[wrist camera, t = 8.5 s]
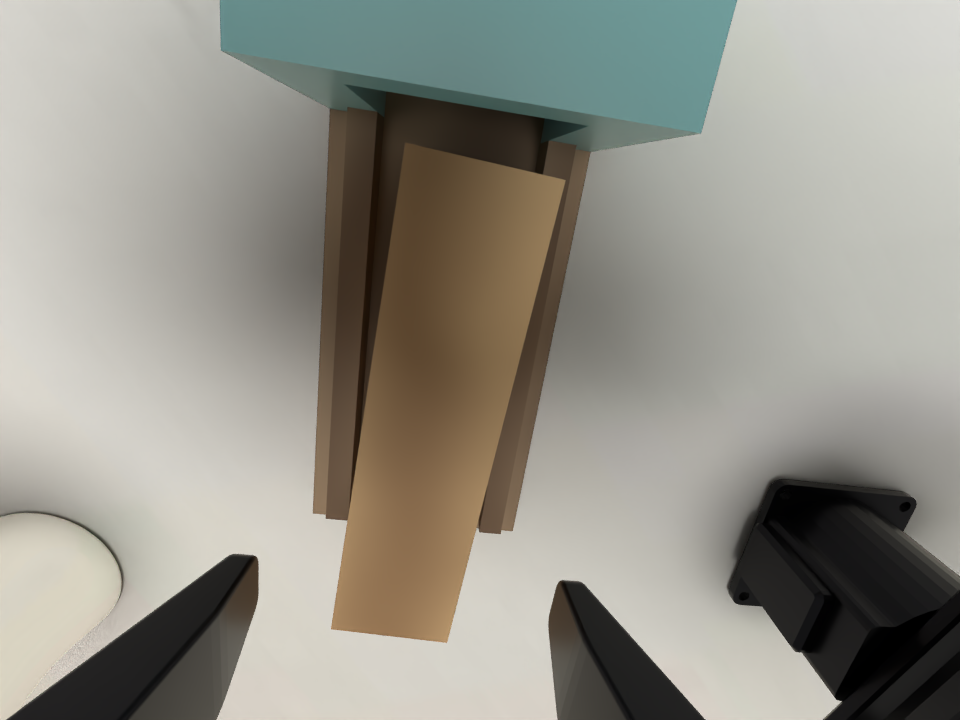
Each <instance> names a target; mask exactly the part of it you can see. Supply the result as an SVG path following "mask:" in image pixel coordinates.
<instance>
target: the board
mask: <svg viewBox="0 0 960 720" xmlns="http://www.w3.org/2000/svg"><path fill="white" fill-rule="evenodd" d="M544 120H545V118H540V117H534V116H528V115H522V114H516V113H511V112H505V111H499V110H493V109H487V108H481V107H475V106H470V105H464V104H458V103H452V102H446V101H440V100H434V99H429V98H423V97H417V96H411V95H405V94H399V93H394V92H388V91H386V102H385V115H384V117H383V116H382V115H381V114H379V113H378V112H375V111H369V110H363V109H357V108H351V107H347V111H341V110H335V109H330V123H329V146H328V170H327V193H326V217H325V241H324V264H323V288H322V311H321V335H320V358H319V382H318V406H317V429H316V453H315V476H314V500H313V513H315V514H326V519H336V520H348V515H349V508H350V502H351V495H352V489H353V482H354V476H355V469H356V463H357V456H358V449H359V443H360V436H361V430H362V423H363V417H364V410H365V404H366V397H367V390H368V384H369V377H370V371H371V364H372V358H373V351H374V345H375V338H376V332H377V325H378V318H379V312H380V305H381V299H382V292H383V286H384V279H385V273H386V266H387V260H388V253H389V246H390V240H391V233H392V227H393V220H394V214H395V207H396V201H397V194H398V188H399V181H400V174H401V168H402V161H403V155H404V148H405V143H409V144H413V145H418V146H422V147H426V148H431V149H435V150H439V151H443V152H448V153H452V154H456V155H460V156H465V157H469V158H473V159H478V160H482V161H486V162H490V163H495V164H499V165H503V166H508V167H512V168H516V169H520V170H525V171H529V172H533V173H537V174H542V175H546V176H550V177H555V178H559V179H563V180H566V181H565V185H564V189H563V193H562V196H561V200H560V204H559V208H558V212H557V216H556V220H555V224H554V228H553V231H552V235H551V239H550V243H549V247H548V251H547V255H546V259H545V263H544V267H543V270H542V274H541V278H540V282H539V286H538V290H537V294H536V298H535V302H534V306H533V309H532V313H531V317H530V321H529V325H528V329H527V333H526V337H525V341H524V344H523V348H522V352H521V356H520V360H519V364H518V368H517V372H516V376H515V380H514V383H513V387H512V391H511V395H510V399H509V403H508V407H507V411H506V415H505V418H504V422H503V426H502V430H501V434H500V438H499V442H498V446H497V450H496V454H495V457H494V461H493V465H492V469H491V473H490V477H489V481H488V485H487V489H486V492H485V496H484V500H483V504H482V508H481V512H480V516H479V520H478V524H477V528H479V532H483V533H494V534H501V530H505V531H513V527H514V522H515V517H516V512H517V507H518V502H519V498H520V493H521V488H522V483H523V478H524V473H525V468H526V463H527V459H528V454H529V449H530V444H531V439H532V434H533V429H534V424H535V420H536V415H537V410H538V405H539V400H540V395H541V390H542V386H543V381H544V376H545V371H546V366H547V361H548V356H549V351H550V347H551V342H552V337H553V332H554V327H555V322H556V317H557V312H558V308H559V303H560V298H561V293H562V288H563V283H564V278H565V273H566V269H567V264H568V259H569V254H570V249H571V244H572V239H573V234H574V230H575V225H576V220H577V215H578V210H579V205H580V200H581V196H582V191H583V186H584V181H585V176H586V171H587V166H588V161H589V157H590V152H589V151H583V150H577V149H576V146H577V145H574V144H568V143H562V142H556V141H550V140H549V141H546V142H543V143H541V138H542V132H543V126H544Z"/></svg>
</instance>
